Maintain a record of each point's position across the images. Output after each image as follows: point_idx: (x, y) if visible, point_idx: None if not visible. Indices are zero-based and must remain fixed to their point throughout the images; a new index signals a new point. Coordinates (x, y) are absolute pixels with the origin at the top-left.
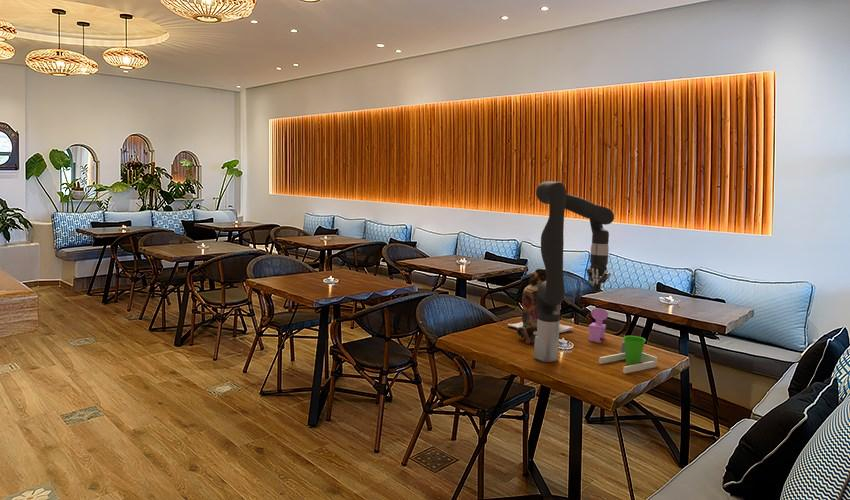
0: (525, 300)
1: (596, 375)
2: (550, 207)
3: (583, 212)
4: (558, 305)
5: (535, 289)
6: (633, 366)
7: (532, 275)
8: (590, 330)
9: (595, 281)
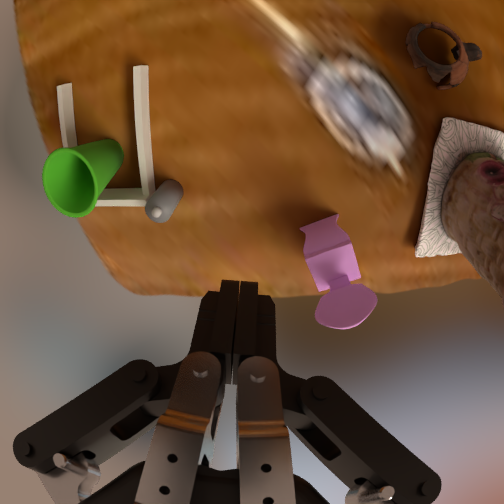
0: None
1: (86, 7)
2: None
3: None
4: (482, 262)
5: None
6: (60, 115)
7: None
8: (338, 232)
9: (237, 383)
